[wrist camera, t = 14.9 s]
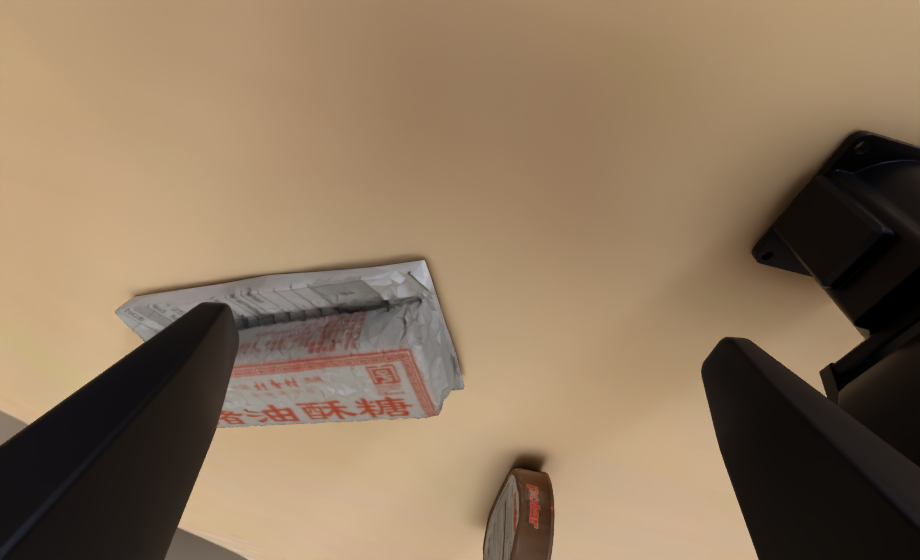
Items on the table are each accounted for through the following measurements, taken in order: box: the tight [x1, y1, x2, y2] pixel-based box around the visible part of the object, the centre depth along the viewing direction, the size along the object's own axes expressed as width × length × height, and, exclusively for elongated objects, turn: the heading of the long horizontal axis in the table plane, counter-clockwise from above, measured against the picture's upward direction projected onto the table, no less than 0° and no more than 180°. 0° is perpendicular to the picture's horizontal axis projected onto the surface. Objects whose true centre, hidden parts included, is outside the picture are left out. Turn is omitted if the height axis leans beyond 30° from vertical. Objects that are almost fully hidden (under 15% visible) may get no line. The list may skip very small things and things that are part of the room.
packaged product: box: [114, 260, 464, 428], centre depth 26 cm, size 18×5×10 cm
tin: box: [483, 468, 554, 560], centre depth 36 cm, size 15×3×8 cm, turn 171°
